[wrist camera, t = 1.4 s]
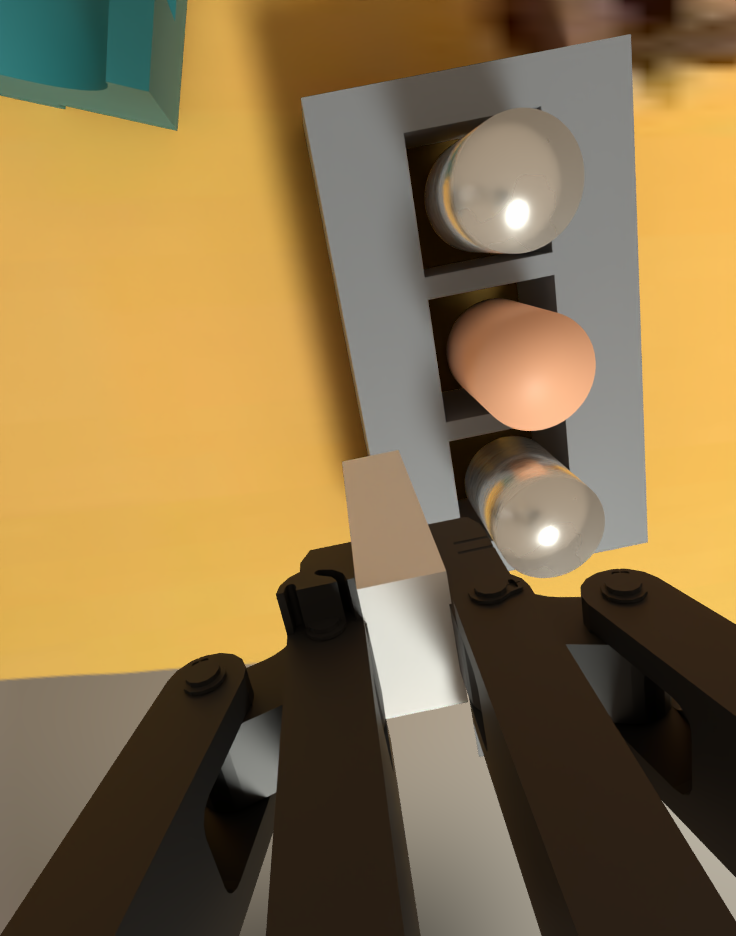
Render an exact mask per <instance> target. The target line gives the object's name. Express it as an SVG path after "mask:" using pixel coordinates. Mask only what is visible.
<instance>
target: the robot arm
mask: <svg viewBox="0 0 736 936" xmlns="http://www.w3.org/2000/svg"><path fill="white" fill-rule="evenodd" d="M342 465H343V474H344V483H345V492H346V501H347V509H348V518H349V527H350V536H351V542H348V543H343V544H339V545H334V546H329V547H324V548H319V549H314V550H310V551H309V553H308V554H307V555H306V557H305V558H304V559H303V561H302V562H301V563H300V572H299V573H297V574H295V575H293V576H291V577H290V578H288V579H287V580H286V581H285V582H284V583H283V584H281V585H280V587H279V589H278V591H277V593H276V596H277V600H278V603H279V607H280V611H281V614H282V618H283V621H284V625H285V629H286V632H287V646H286V647H285V648H284V649H282V650H281V651H280V652H278V653H277V654H275V655H274V656H272V657H270V658H268V659H266V660H264V661H262V662H259V663H257V664H255V665H252V666H250V667H248V668H246V666H245V664H244V662H243V660H242V659H241V658H239V657H237V656H236V655H234V654H225V653H218V654H213V655H207V656H203V657H200V658H199V659H196V660H193V661H191V662H190V663H188V664H187V665H185V666H184V667H182V668H181V669H179V670H178V671H177V672H176V673H175V674H174V675H173V676H172V677H171V678H170V679H169V681H167V683H166V685H165V686H164V688H163V689H162V691H161V692H160V694H159V695H158V697H157V698H156V700H155V701H154V703H153V704H152V706H151V707H150V709H149V710H148V712H147V713H146V715H145V716H144V718H143V719H142V721H141V722H140V724H139V725H138V727H137V729H136V730H135V732H134V733H133V735H132V736H131V738H130V739H129V741H128V742H127V744H126V745H125V747H124V748H123V750H122V751H121V753H120V754H119V756H118V757H117V759H116V760H115V762H114V763H113V765H112V766H111V768H110V770H109V771H108V773H107V774H106V776H105V777H104V779H103V780H102V782H101V783H100V785H99V786H98V788H97V790H96V791H95V792H94V794H93V795H92V797H91V799H90V800H89V802H88V803H87V804H86V806H85V807H84V809H83V811H82V812H81V814H80V815H79V817H78V818H77V820H76V821H75V823H74V824H73V826H72V827H71V829H70V830H69V832H68V833H67V835H66V836H65V838H64V839H63V841H62V842H61V844H60V845H59V847H58V849H57V850H56V852H55V853H54V855H53V856H52V858H51V859H50V861H49V862H48V864H47V865H46V867H45V868H44V870H43V871H42V873H41V874H40V876H39V877H38V879H37V880H36V882H35V883H34V885H33V887H32V888H31V889H30V891H29V893H28V894H27V896H26V897H25V899H24V900H23V902H22V903H21V905H20V906H19V908H18V910H17V911H16V912H15V914H14V915H13V917H12V919H11V920H10V921H9V923H8V924H7V926H6V927H5V929H4V930H3V932H2V933H1V935H0V936H239V934H240V931H241V928H242V925H243V922H244V919H245V916H246V913H247V910H248V907H249V904H250V901H251V897H252V895H253V891H254V888H255V885H256V882H257V879H258V876H259V873H260V870H261V867H262V864H263V861H264V858H265V855H266V852H267V849H268V846H269V843H270V839H271V836H272V834H273V845H272V859H271V873H270V887H269V900H268V914H267V929H266V936H421V935H420V929H419V922H418V916H417V909H416V903H415V897H414V889H413V883H412V877H411V871H410V863H409V857H408V850H407V844H406V838H405V831H404V824H403V817H402V811H401V804H400V798H399V791H398V785H397V778H396V772H395V766H394V758H393V752H392V745H391V739H390V735H389V730H388V726H387V721H386V719H389V718H394V717H398V716H403V715H408V714H413V713H418V712H423V711H427V710H432V709H437V708H442V707H447V706H451V705H456V704H461V703H465V702H468V699H467V693H468V695H469V700H470V705H471V712H472V718H473V724H474V729H475V736H476V741H477V747H478V754H479V756H484V757H485V760H486V764H487V767H488V770H489V773H490V776H491V779H492V782H493V785H494V788H495V792H496V794H497V798H498V801H499V804H500V807H501V810H502V813H503V817H504V820H505V823H506V826H507V829H508V832H509V835H510V839H511V842H512V845H513V848H514V851H515V854H516V857H517V860H518V863H519V867H520V869H521V873H522V876H523V879H524V882H525V885H526V888H527V892H528V894H529V898H530V901H531V904H532V907H533V910H534V913H535V916H536V920H537V923H538V926H539V929H540V932H541V935H542V936H736V921H735V919H734V918H733V916H732V914H731V913H730V911H729V909H728V908H727V906H726V905H725V903H724V901H723V900H722V898H721V897H720V895H719V893H718V892H717V890H716V889H715V887H714V885H713V883H712V882H711V880H710V879H709V877H708V875H707V874H706V872H705V871H704V869H703V867H702V866H701V864H700V862H699V861H698V859H697V858H696V856H695V854H694V853H693V851H692V850H691V848H690V846H689V844H688V843H687V841H686V840H685V838H684V836H683V835H682V833H681V832H680V830H679V828H678V827H677V825H676V823H675V822H674V820H673V818H672V817H671V815H670V814H669V812H668V810H667V809H666V807H665V805H664V804H663V802H664V803H665V804H666V805H667V806H668V807H669V808H670V809H671V810H672V812H673V813H675V815H676V816H677V817H678V818H679V819H680V820H681V821H682V822H683V823H684V824H685V825H686V826H687V827H688V828H689V829H690V830H691V831H692V832H693V833H694V834H695V835H696V836H697V838H699V840H700V841H701V842H702V843H703V844H704V845H705V846H706V847H707V848H708V849H709V850H710V851H711V852H712V853H713V854H714V855H715V856H716V857H717V858H718V859H719V860H720V861H721V862H722V864H723V865H724V866H725V867H726V868H727V869H728V870H729V871H730V872H731V873H732V874H733V875H734V876H735V877H736V624H734V623H732V622H731V621H729V620H728V619H726V618H724V617H723V616H721V615H719V614H718V613H716V612H714V611H713V610H711V609H709V608H708V607H706V606H704V605H703V604H701V603H699V602H698V601H696V600H694V599H693V598H691V597H689V596H688V595H686V594H684V593H683V592H681V591H679V590H678V589H676V588H674V587H673V586H671V585H669V584H668V583H666V582H664V581H663V580H661V579H659V578H658V577H655V576H653V575H650V574H648V573H646V572H642V571H636V570H630V569H611V570H607V571H603V572H599V573H596V574H594V575H592V576H591V577H589V578H587V579H586V580H585V581H584V583H583V584H582V585H581V597H547V596H542V595H537V594H534V592H533V591H532V589H531V587H530V586H529V585H528V584H527V583H526V582H525V581H524V580H523V579H522V578H519V577H517V576H514V575H511V574H510V573H509V571H508V570H507V568H506V566H505V564H504V563H503V561H502V559H501V558H500V556H499V554H498V552H497V551H496V549H495V547H493V544H492V542H491V541H490V539H489V538H488V535H487V534H486V532H485V530H484V529H483V527H482V525H481V524H479V523H478V522H476V521H474V520H472V519H470V518H468V517H461V518H456V519H452V520H447V521H442V522H437V523H432V524H427V521H426V519H425V516H424V513H423V511H422V508H421V506H420V503H419V501H418V498H417V496H416V493H415V491H414V488H413V486H412V483H411V481H410V478H409V475H408V473H407V470H406V468H405V465H404V463H403V460H402V458H401V455H400V453H399V450H396V451H391V452H386V453H381V454H376V455H371V456H367V457H362V458H357V459H352V460H347V461H342ZM466 690H467V693H466ZM662 801H663V802H662ZM273 830H274V831H273Z"/></svg>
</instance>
